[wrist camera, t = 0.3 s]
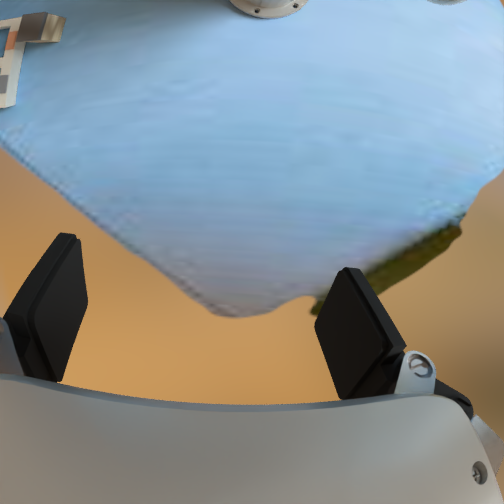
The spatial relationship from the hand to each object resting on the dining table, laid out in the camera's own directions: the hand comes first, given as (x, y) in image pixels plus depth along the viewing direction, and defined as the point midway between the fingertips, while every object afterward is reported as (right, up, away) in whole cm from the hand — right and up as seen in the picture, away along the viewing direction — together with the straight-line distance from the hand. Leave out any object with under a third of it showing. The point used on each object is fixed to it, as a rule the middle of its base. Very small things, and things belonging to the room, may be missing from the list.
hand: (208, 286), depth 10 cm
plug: (-28, +34, +17) cm, 48 cm away
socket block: (-39, +32, +17) cm, 53 cm away
